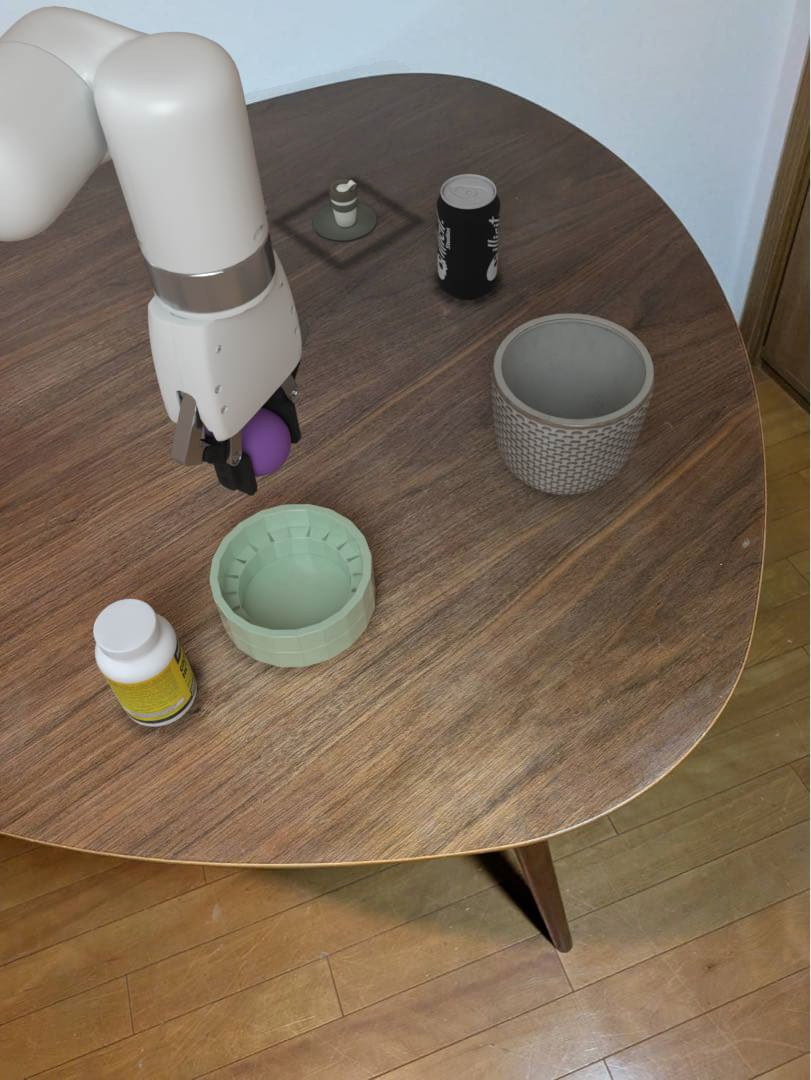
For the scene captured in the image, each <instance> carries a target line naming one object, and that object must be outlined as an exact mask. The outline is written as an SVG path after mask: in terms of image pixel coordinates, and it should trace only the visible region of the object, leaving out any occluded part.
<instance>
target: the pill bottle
mask: <svg viewBox="0 0 811 1080" xmlns="http://www.w3.org/2000/svg"><path fill="white" fill-rule="evenodd" d="M92 632H93V638H94V641H95V645H94V646H95V647H94V656H95V662H96V664H97V667H98V669H99V671H100V672H101V674H102V676H103V677H104V679H105V680H106V682H107V684H108V685H109V687H110V688H111V690H112V692H113V694H114V695H115V697H116V699H117V701H118V702H119V704H120V706H121V707H122V709H123V710H124V712H125V713H126V715H127V716H128V717H129V718H130V719H131V720H132V721H134V722H135V723H136V724H139V725H140V726H144V727H153V728H154V727H155V728H156V727H164V726H167V725H169V724H172V723H173V722H176V721H177V720H179V719H181V718H182V717H183V716H184V715H186V713H188V711H189V710H190V709H191V707H192V706H193V704H194V702H195V699H196V697H197V696H196V695H197V687H198V685H197V679H196V677H195V674H194V672H193V668H192V666H191V665H190V663H189V660H188V658H187V656H186V654H185V652H184V648H183V647H182V644H181V642H180V640H179V638H178V635H177V632H176V631H175V629H174V627H173V625H172V623H170V622H169V621H168V619H166V618H165V617H163V616H162V615H160V614H158V613H156V612H155V610H154V608H153V607H152V606H151V605H150V604H149V603H147V602H146V601H143V600H141V599H137V598H124V599H120V600H117V601H114V602H112V603H111V604H108V605H107V606H106V607H105V608H104V609H103V610H102V611H100V612H99V614H98V616H97V617H96V619H95V621H94V623H93V630H92Z"/></svg>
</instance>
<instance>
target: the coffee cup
mask: <svg viewBox="0 0 811 1080" xmlns="http://www.w3.org/2000/svg"><path fill="white" fill-rule="evenodd" d="M358 194H359V190H358V187H357V183H356V182H355V181H354V180H352V179H347V178H340V179H337V180H335V181H333V182H332V183H331V184H330V185H329V189H328V196H329V198H330V202H331V203H329V204H327V205H325V206H322V207H321V208H320V209H318V210H317V211H316V213H314V216H313V217H312V220H311V222H312V228H313V229H314V231H315V232H316V233H317V234H319V236H321V237H323V238H325V239H328V240H332V241H336V242H337V241H339V242H346V241H353V240H357V239H360V238H362V237H365V236H367V235H368V234H370V233H371V232H372V231H373V230H374V229H375V227H376V224H377V222H378V216H377V213H376V211H375V210H374V209H373V208H372V207H370V206H369V205H367V204H366V203H362V202H360V201H358Z"/></svg>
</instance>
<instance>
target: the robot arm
mask: <svg viewBox="0 0 811 1080" xmlns="http://www.w3.org/2000/svg"><path fill="white" fill-rule="evenodd" d="M254 147H255V145H254V140H253V135H252V129H251V125H250V120H249V114H248V110H247V103H246V98H245V91H244V87H243V84H242V80H241V75H240V71H239V68H238V67H237V64H236V62H235V60H234V59H233V57H232V56H231V55H230V53H229V52H228V51H227V49H225V48H224V47H223V46H222V45H221V44H219V43H218V42H217V41H216V40H215V41H214V40H213V39H210V38H208V37H206V36H204V35H201V34H197V33H194V32H193V33H192V32H185V31H165V32H156V33H152V34H150V33H147V32H143V31H140V30H137V29H134V28H131V27H127V26H125V25H123V24H119V23H116V22H114V21H111V20H108V19H105V18H103V17H100V16H97V15H94V14H92V13H89V12H87V11H84V10H79V9H75V8H71V7H66V6H57V5H53V6H43V7H40V8H36V9H33V10H31V11H30V12H29V11H28V13H26V14H24V15H23V16H21V17H20V18H19V19H18V20H17V21H15V22H14V23H13V24H12V25H11V26H10V27H9V28H8V29H7V30H6V31H5V32H4V33H3V34H2V35H1V36H0V242H5V243H9V242H20V241H25V240H29V239H31V238H34V237H35V236H37V235H38V234H39V235H40V234H41V233H42V232H44V231H46V230H47V229H48V228H49V227H50V226H52V225H53V224H54V222H55V221H56V220H57V219H58V217H60V215H61V214H62V213H63V212H64V211H65V210H66V208H67V207H68V206H69V205H70V203H71V202H72V201H73V199H74V198H75V197H76V195H77V194H78V193H79V191H80V190H81V189H82V188H83V186H84V185H85V184H86V183H87V181H88V180H89V179H90V177H92V175H93V173H94V172H95V171H96V170H97V168H99V167H101V166H103V165H105V164H106V163H108V162H110V161H111V160H112V163H113V166H114V170H115V173H116V176H117V179H118V182H119V186H120V188H121V191H122V194H123V197H124V201H125V204H126V207H127V210H128V213H129V216H130V220H131V222H132V225H133V229H134V233H135V236H136V238H137V242H138V245H139V248H140V252H141V256H142V258H143V261H144V265H145V268H146V271H147V274H148V277H149V281H150V283H151V286H152V290H153V293H154V295H153V297H152V298H151V299H150V301H149V302H148V303H147V323H148V324H147V325H148V335H149V343H150V349H151V355H152V356H151V357H152V360H153V366H154V370H155V374H156V375H155V376H156V378H157V382H158V386H159V390H160V394H161V398H162V400H163V401H162V402H163V404H164V407H165V410H166V413H167V415H168V417H169V419H170V421H171V422H173V423H174V424H176V426H175V432H174V436H173V441H172V445H171V451H170V456H169V457H170V460H171V461H174V462H175V463H178V464H180V465H182V466H185V467H186V468H187V467H194V466H197V465H199V466H200V465H202V464H203V463H207V464H210V465H211V464H212V465H213V468H214V469H215V470H214V471H215V474H216V477H217V480H218V482H219V483H220V485H221V486H222V487H223V488H226V489H228V490H230V491H232V492H235V491H239V492H241V493H244V494H245V495H248V496H250V497H253V496H255V494H256V493H257V492H258V482H257V479H256V476H255V475H254V471H253V467H252V463H251V459H250V457H249V455H248V454H246V453H244V452H242V428H243V427H244V426H245V425H246V424H247V422H248V421H249V420H250V419H251V418H252V417H253V416H254V415H255V414H256V413H257V411H258V410H259V409H260V408H264V409H267V410H270V411H272V412H274V413H275V414H277V415H278V416H279V417H280V418H281V419H282V420H283V421H284V422H285V424H286V425H287V427H288V429H289V432H290V436H291V445H294V444H298V443H299V442H300V440H301V439H302V434H301V430H300V429H301V428H300V423H299V419H298V413H297V409H296V404H295V402H293V401H294V400H295V399H296V398H297V396H298V393H299V386H298V383H297V381H296V377H297V374H298V371H299V367H300V366H301V361H302V355H303V349H304V346H305V343H306V341H307V338H308V335H309V331H310V327H309V326H308V325H307V324H306V323H304V322H301V321H299V316H298V313H297V308H296V303H295V299H294V296H293V293H292V290H291V286H290V283H289V281H288V278H287V274H286V272H285V269H284V267H283V265H282V263H281V260H280V258H279V256H278V254H277V252H276V250H275V249H274V248H273V243H272V236H271V232H270V226H269V222H268V216H267V214H268V212H269V209H268V206H267V204H266V202H265V200H264V194H263V190H262V184H261V178H260V173H259V167H258V161H257V156H256V151H255V148H254ZM224 440H225V441H224Z"/></svg>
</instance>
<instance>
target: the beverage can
mask: <svg viewBox="0 0 811 1080" xmlns="http://www.w3.org/2000/svg"><path fill="white" fill-rule="evenodd" d="M497 191H498V190H497V186H496V184H495V183H494V182H493V181H492V179H489V178H488V177H486V176H483V175H480V174H475V173H464V174H458V175H455V176H452V177H449V178H448V179H447V180H445V182H444V183H443V184H442V185H441V187H440V194H439V196H438V197H437V200H436V246H437V247H436V248H437V249H436V250H437V281H438V284H439V287H440V288H441V289H442V290H443V291H444V292H446V293H447V294H448V295H449V296H450V297H451V298H452V297H453V298H455V299H457V300H461V301H462V300H464V301H470V300H471V301H472V300H476V299H480V298H481V297H484V296H486V295H487V294H488V293H489V292H491V291H492V290H493V289H494V288H495V286H496V284H497V281H498V268H499V267H498V265H499V244H500V242H499V241H500V240H499V239H500V217H501V199H500V197H499V195H498V193H497Z"/></svg>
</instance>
